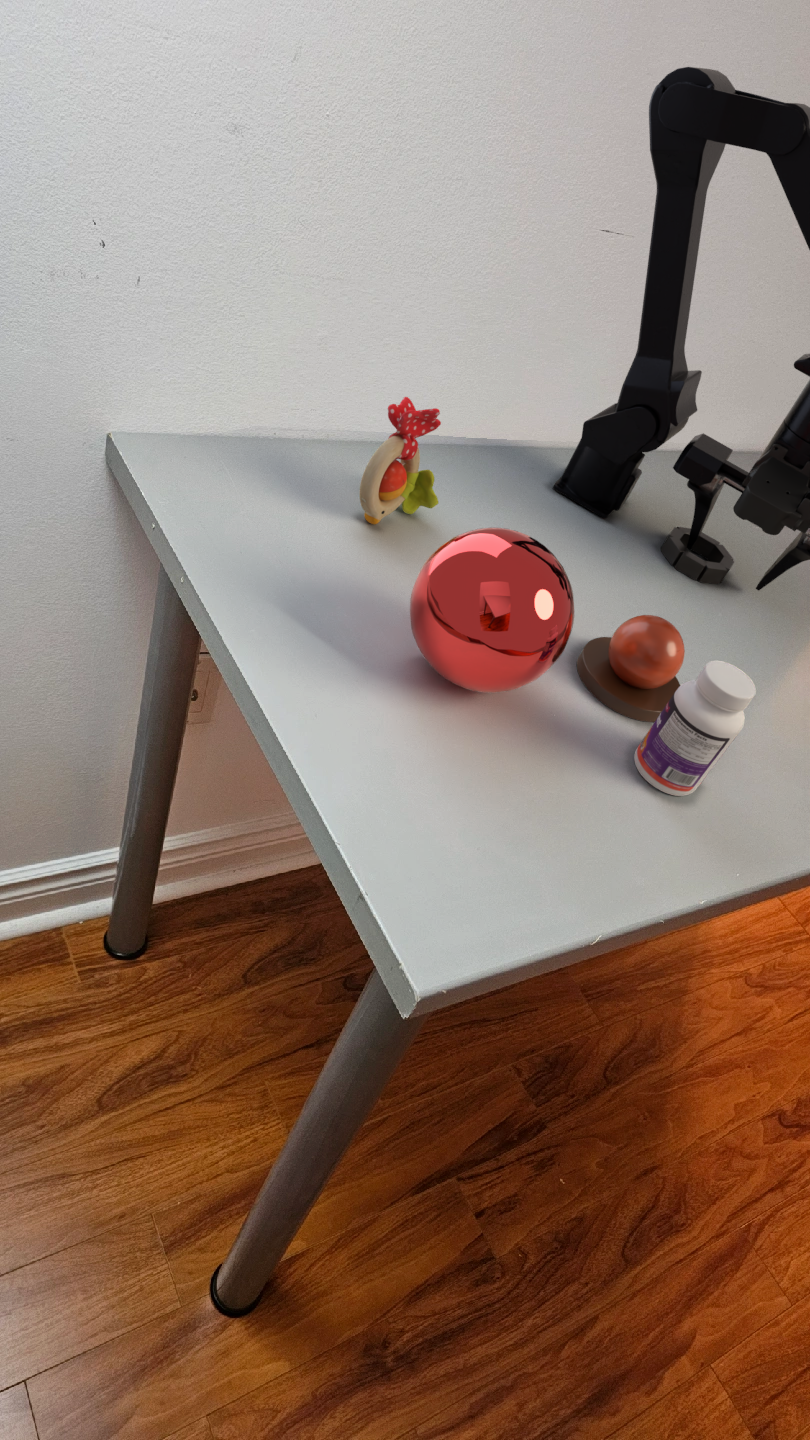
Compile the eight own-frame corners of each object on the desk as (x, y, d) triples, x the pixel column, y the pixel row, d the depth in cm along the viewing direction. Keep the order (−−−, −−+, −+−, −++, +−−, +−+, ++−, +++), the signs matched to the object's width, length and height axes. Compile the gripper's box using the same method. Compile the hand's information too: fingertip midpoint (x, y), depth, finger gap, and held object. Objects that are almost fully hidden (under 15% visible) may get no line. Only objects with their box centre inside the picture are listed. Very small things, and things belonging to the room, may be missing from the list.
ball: (364, 618, 82) (418, 487, 74) (492, 620, 88) (553, 500, 80) (424, 729, 74) (489, 597, 67) (558, 723, 80) (633, 602, 73)
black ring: (654, 556, 106) (663, 542, 105) (672, 533, 112) (680, 519, 110) (715, 592, 105) (724, 578, 104) (730, 567, 111) (739, 553, 109)
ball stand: (561, 678, 85) (598, 616, 81) (596, 633, 92) (631, 574, 88) (658, 738, 84) (700, 679, 79) (686, 688, 90) (726, 630, 86)
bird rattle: (392, 559, 93) (449, 497, 97) (406, 474, 83) (468, 410, 87) (335, 523, 94) (394, 463, 98) (342, 435, 84) (407, 373, 88)
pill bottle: (656, 738, 84) (721, 646, 77) (708, 784, 81) (778, 693, 75) (618, 758, 80) (683, 663, 74) (671, 807, 78) (742, 713, 72)
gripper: (703, 405, 93) (620, 548, 103) (894, 513, 90) (791, 649, 100) (729, 377, 101) (651, 512, 111) (906, 474, 98) (809, 604, 108)
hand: (723, 568), depth 107 cm, fingers open, 8 cm apart
